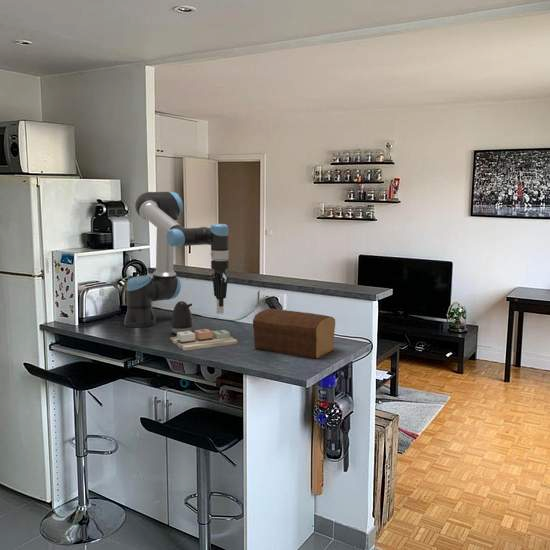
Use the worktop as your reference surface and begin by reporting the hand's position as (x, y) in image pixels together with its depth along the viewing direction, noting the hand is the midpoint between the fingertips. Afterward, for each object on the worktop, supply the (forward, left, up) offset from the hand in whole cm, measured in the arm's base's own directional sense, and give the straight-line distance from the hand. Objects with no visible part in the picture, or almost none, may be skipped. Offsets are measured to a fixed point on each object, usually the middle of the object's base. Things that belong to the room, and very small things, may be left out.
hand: (220, 313), depth 253 cm
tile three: (0, 0, -11) cm, 11 cm away
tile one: (0, -16, -10) cm, 19 cm away
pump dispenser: (-19, -11, -12) cm, 25 cm away
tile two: (0, -8, -10) cm, 13 cm away
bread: (+28, +21, -12) cm, 37 cm away
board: (0, -8, -12) cm, 14 cm away
